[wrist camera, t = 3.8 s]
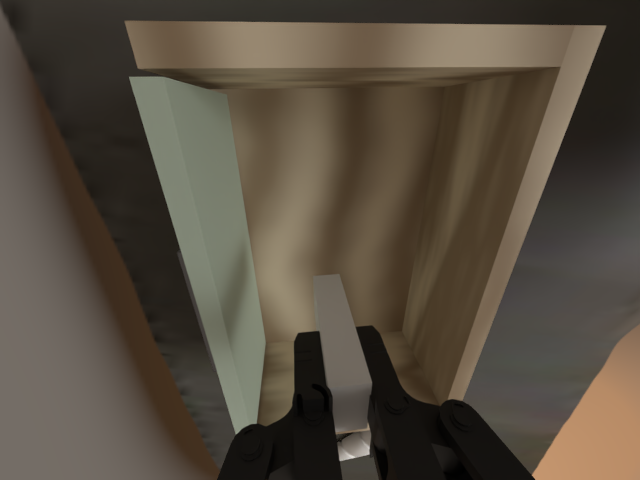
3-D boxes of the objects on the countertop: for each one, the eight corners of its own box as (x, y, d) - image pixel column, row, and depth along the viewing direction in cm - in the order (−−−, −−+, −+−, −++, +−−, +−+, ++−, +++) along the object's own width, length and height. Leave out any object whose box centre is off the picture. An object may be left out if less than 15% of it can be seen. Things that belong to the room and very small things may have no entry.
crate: (457, 66, 17) (606, 25, 9) (407, 331, 28) (454, 419, 20) (210, 67, 16) (124, 20, 8) (258, 344, 26) (244, 445, 18)
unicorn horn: (287, 452, 37) (287, 496, 33) (434, 378, 33) (456, 418, 28) (307, 463, 39) (309, 506, 35) (447, 395, 35) (469, 435, 30)
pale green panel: (226, 94, 15) (163, 76, 8) (265, 342, 25) (254, 443, 17) (199, 94, 15) (107, 76, 8) (249, 344, 25) (230, 446, 17)
